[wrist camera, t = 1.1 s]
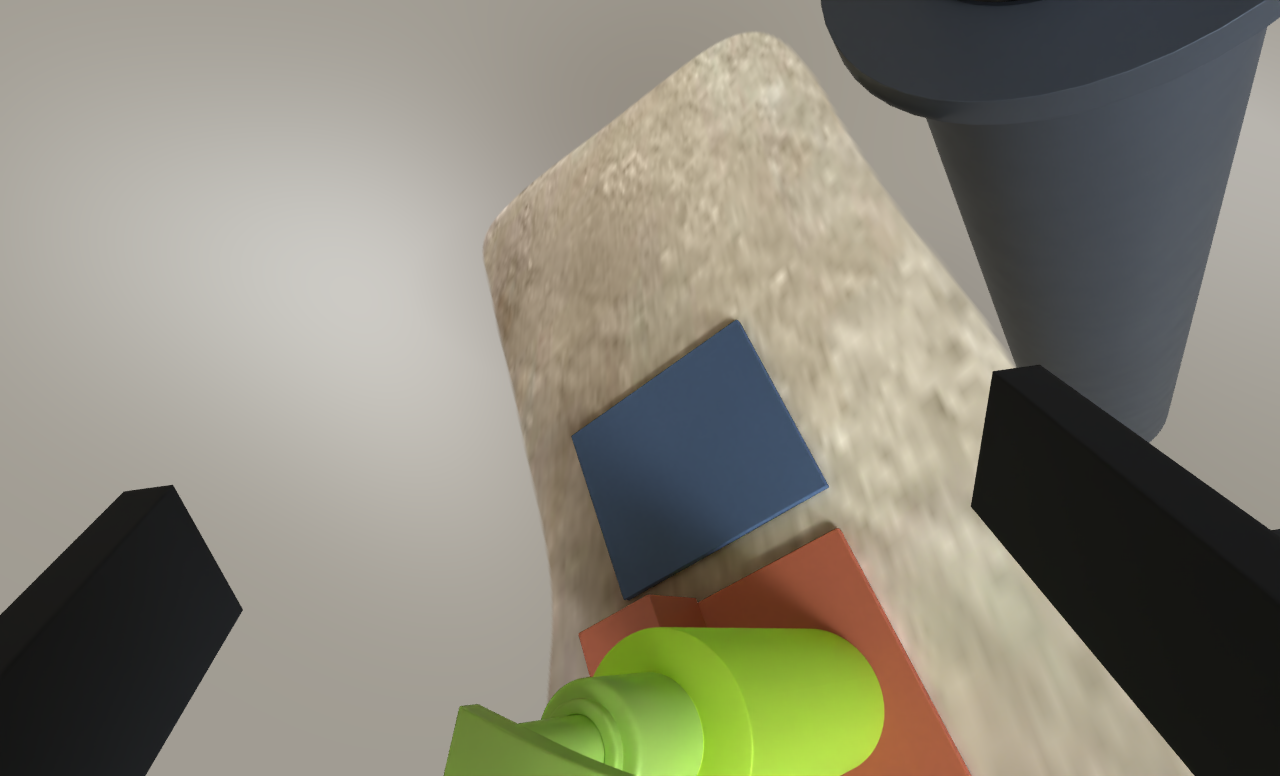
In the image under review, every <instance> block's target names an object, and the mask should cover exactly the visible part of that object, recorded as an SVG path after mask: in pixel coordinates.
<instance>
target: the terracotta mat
mask: <svg viewBox="0 0 1280 776" xmlns="http://www.w3.org/2000/svg"><path fill="white" fill-rule="evenodd" d="M698 606H699V608H700V611H701V613H702V616H703V619H704V621H705V624H706V627H707V628H789V629H819V630H824V631H828V632H831V633H834V634H836V635H838V636H840V637H842V638H844V639H845V640H847V641H848V642H850V643H851V644H852V645H853V646H854V647H856V648H857V649H858V650H859V651H860V652H861V653H862V655H863V656H864V657H865V658H866V660H867V661H868V662H869V664H870V665H871V667H872V669H873V670H874V672H875V674H876V677H877V679H878V681H879V684H880V687H881V691H882V695H883V701H884V724H883V729H882V733H881V736H880V739H879V741H878V743H877V745H876V747H875V749H874V750H873V752H872V753H871V755H870V756H869V757H868V758H867V759H866V760H865V761H864V762H863V763H862V764H860V765H859V766H857V767H856V768H854V769H852V770H850V771H848V772H846V773H844V774H843V775H841V776H971V774H970V772H969V770H968V769H967V767H966V765H965V763H964V761H963V759H962V757H961V755H960V754H959V752H958V750H957V748H956V746H955V744H954V742H953V740H952V738H951V737H950V735H949V733H948V731H947V729H946V727H945V725H944V723H943V722H942V720H941V718H940V716H939V714H938V712H937V710H936V708H935V707H934V705H933V703H932V701H931V699H930V697H929V695H928V693H927V691H926V690H925V688H924V686H923V684H922V682H921V680H920V678H919V676H918V675H917V673H916V671H915V669H914V667H913V665H912V663H911V661H910V659H909V658H908V656H907V654H906V652H905V650H904V648H903V646H902V644H901V643H900V641H899V639H898V637H897V635H896V633H895V631H894V629H893V628H892V626H891V624H890V622H889V620H888V618H887V616H886V614H885V612H884V611H883V609H882V607H881V605H880V603H879V601H878V599H877V597H876V596H875V594H874V592H873V590H872V588H871V586H870V584H869V582H868V580H867V579H866V577H865V575H864V573H863V571H862V569H861V567H860V565H859V564H858V562H857V560H856V558H855V556H854V554H853V552H852V550H851V549H850V547H849V545H848V543H847V541H846V539H845V537H844V535H843V533H842V532H841V530H840V529H838V528H836V529H834V530H832V531H830V532H828V533H826V534H824V535H823V536H821V537H819V538H817V539H815V540H813V541H811V542H810V543H808V544H806V545H804V546H802V547H800V548H798V549H797V550H795V551H793V552H791V553H789V554H787V555H785V556H784V557H782V558H780V559H778V560H776V561H774V562H772V563H770V564H769V565H767V566H765V567H763V568H761V569H759V570H757V571H756V572H754V573H752V574H750V575H748V576H746V577H744V578H743V579H741V580H739V581H737V582H735V583H733V584H731V585H730V586H728V587H726V588H724V589H722V590H720V591H718V592H717V593H715V594H713V595H711V596H709V597H707V598H705V599H703V600H702V601H700V602H698Z"/></svg>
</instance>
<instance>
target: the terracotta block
mask: <svg viewBox="0 0 1280 776" xmlns="http://www.w3.org/2000/svg"><path fill="white" fill-rule="evenodd" d="M654 627H698V628H707V627H706V624H705V621H704V619H703V616H702V613H701V611H700V608H699V606H698V603H697V600H696V598H688V597H676V596H663V595H651V594H648V595H646V596H644V597H643V598H641V599H639V600H637V601H635V602H634V603H632V604H630V605H628V606H626V607H625V608H623V609H621V610H619V611H618V612H616V613H614V614H612V615H610V616H609V617H607V618H605V619H603V620H602V621H600V622H598V623H596V624H594V625H593V626H591V627H589V628H587V629H586V630H584V631H582V632H580V633H579V638H580V642H581V645H582V649H583V653H584V656H585V660H586V664H587V667H588V671H589V674H590V677H593V676H594V674H595V672H596V670H597V668H598V666H599V664H600V663H601V661H602V660H603V658H604V657H605V656H606V655H607V653H608V652H609V651H610V650H611V649H612V648H613V647H614V646H615V645H616V644H617V643H618V642H620V641H621V640H622V639H624V638H625V637H627V636H629V635H631V634H633V633H635V632H637V631H640V630H643V629H648V628H654Z"/></svg>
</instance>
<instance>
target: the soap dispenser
mask: <svg viewBox="0 0 1280 776" xmlns="http://www.w3.org/2000/svg"><path fill="white" fill-rule="evenodd" d="M883 724H884V701H883V695H882V691H881V687H880V684H879V681H878V679H877V677H876V674H875V672H874V670H873V669H872V667H871V665H870V664H869V662H868V661H867V660H866V658H865V657H864V656H863V655H862V653H861V652H860V651H859V650H858V649H857V648H856V647H854V646H853V645H852V644H851V643H850V642H848V641H847V640H845V639H844V638H842V637H840V636H838V635H836V634H834V633H831V632H828V631H824V630H819V629H789V628H698V627H654V628H648V629H643V630H640V631H637V632H635V633H633V634H631V635H629V636H627V637H625V638H624V639H622V640H621V641H620V642H618V643H617V644H616V645H615V646H614V647H613V648H612V649H611V650H610V651H609V652H608V653H607V655H606V656H605V657H604V658H603V660H602V661H601V663H600V664H599V666H598V668H597V670H596V672H595V674H594V676H593V677H586V678H580V679H577V680H574V681H572V682H569V683H568V684H566V685H564V686H563V687H562V688H560V689H559V690H558V691H557V692H556V693H555V694H554V696H553V697H552V698H551V700H550V701H549V703H548V704H547V706H546V708H545V710H544V713H543V715H542V718H541V720H538V721H532V722H525V723H519V724H517V723H515V722H513V721H511V720H509V719H507V718H505V717H503V716H501V715H499V714H497V713H495V712H493V711H491V710H488V709H487V708H485V707H483V706H481V705H478V704H475V705H466V706H460V708H459V711H458V715H457V720H456V724H455V728H454V733H453V737H452V742H451V746H450V750H449V754H448V759H447V763H446V768H445V772H444V776H841V775H843V774H844V773H846V772H848V771H850V770H852V769H854V768H856V767H857V766H859V765H860V764H862V763H863V762H864V761H865V760H866V759H867V758H868V757H869V756H870V755H871V753H872V752H873V750H874V749H875V747H876V745H877V743H878V741H879V739H880V736H881V733H882V729H883Z"/></svg>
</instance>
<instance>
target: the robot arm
mask: <svg viewBox="0 0 1280 776" xmlns="http://www.w3.org/2000/svg"><path fill="white" fill-rule="evenodd" d="M958 1H961V2H966V3H970V4H977V5H987V6H1005V5H1017V4H1025V3H1032V2H1037V1H1042V0H958ZM971 507H972V508H973V510H974V511H975V512H976V513H977V514H978V516H979V517H980V518H981V519H982V520H983V522H984V523H985V524H986V525H987V526H988V528H989V529H990V530H991V531H992V532H993V534H994V535H995V536H996V537H997V538H998V540H999V541H1000V542H1001V543H1002V544H1003V546H1004V547H1005V548H1006V549H1007V550H1008V552H1009V553H1010V554H1011V555H1012V556H1013V558H1014V559H1015V560H1016V561H1017V562H1018V564H1019V565H1020V566H1021V567H1022V569H1023V570H1024V571H1025V572H1026V573H1027V575H1028V576H1029V577H1030V578H1031V579H1032V581H1033V582H1034V583H1035V584H1036V585H1037V587H1038V588H1039V589H1040V590H1041V591H1042V593H1043V594H1044V595H1045V596H1046V597H1047V599H1048V600H1049V601H1050V602H1051V603H1052V605H1053V606H1054V607H1055V608H1056V609H1057V611H1058V612H1059V613H1060V614H1061V615H1062V617H1063V618H1064V619H1065V620H1066V621H1067V623H1068V624H1069V625H1070V626H1071V627H1072V629H1073V630H1074V631H1075V632H1076V634H1077V635H1078V636H1079V637H1080V638H1081V640H1082V641H1083V642H1084V643H1085V644H1086V646H1087V647H1088V648H1089V649H1090V650H1091V652H1092V653H1093V654H1094V655H1095V656H1096V658H1097V659H1098V660H1099V661H1100V662H1101V664H1102V665H1103V666H1104V667H1105V668H1106V670H1107V671H1108V672H1109V673H1110V674H1111V676H1112V677H1113V678H1114V679H1115V680H1116V682H1117V683H1118V684H1119V685H1120V686H1121V688H1122V689H1123V690H1124V691H1125V692H1126V694H1127V695H1128V696H1129V697H1130V699H1131V700H1132V701H1133V702H1134V703H1135V705H1136V706H1137V707H1138V708H1139V709H1140V711H1141V712H1142V713H1143V714H1144V715H1145V717H1146V718H1147V719H1148V720H1149V721H1150V723H1151V724H1152V725H1153V726H1154V727H1155V729H1156V730H1157V731H1158V732H1159V733H1160V735H1161V736H1162V737H1163V738H1164V739H1165V741H1166V742H1167V743H1168V744H1169V745H1170V747H1171V748H1172V749H1173V750H1174V751H1175V753H1176V754H1177V755H1178V756H1179V757H1180V759H1181V760H1182V761H1183V762H1184V764H1185V765H1186V766H1187V767H1188V768H1189V770H1190V771H1191V772H1192V773H1193V774H1194V776H1280V529H1278V530H1270V529H1268V528H1267V527H1265V526H1264V525H1262V524H1261V523H1260V522H1258V521H1257V520H1256V519H1254V518H1253V517H1252V516H1250V515H1249V514H1247V513H1246V512H1245V511H1243V510H1242V509H1240V508H1239V507H1238V506H1236V505H1235V504H1233V503H1232V502H1231V501H1229V500H1228V499H1226V498H1225V497H1223V496H1222V495H1221V494H1219V493H1218V492H1217V491H1215V490H1214V489H1212V488H1211V487H1209V486H1208V485H1207V484H1205V483H1204V482H1203V481H1201V480H1200V479H1198V478H1197V477H1196V476H1194V475H1193V474H1191V473H1190V472H1189V471H1187V470H1186V469H1184V468H1183V467H1182V466H1180V465H1179V464H1177V463H1176V462H1175V461H1173V460H1172V459H1170V458H1169V457H1168V456H1166V455H1165V454H1163V453H1162V452H1161V451H1159V450H1158V449H1157V448H1155V447H1154V446H1152V445H1151V444H1150V443H1148V442H1147V441H1145V440H1144V439H1143V438H1141V437H1140V436H1138V435H1137V434H1136V433H1134V432H1133V431H1131V430H1130V429H1129V428H1127V427H1126V426H1124V425H1123V424H1122V423H1120V422H1119V421H1117V420H1116V419H1115V418H1113V417H1112V416H1110V415H1109V414H1108V413H1106V412H1105V411H1103V410H1102V409H1101V408H1099V407H1098V406H1096V405H1095V404H1094V403H1092V402H1091V401H1089V400H1088V399H1087V398H1085V397H1084V396H1082V395H1081V394H1080V393H1078V392H1077V391H1075V390H1074V389H1073V388H1071V387H1070V386H1068V385H1067V384H1066V383H1064V382H1063V381H1061V380H1060V379H1059V378H1057V377H1056V376H1055V375H1053V374H1052V373H1050V372H1049V371H1048V370H1046V369H1045V368H1043V367H1042V366H1041V365H1035V366H1028V367H1021V368H1013V369H1006V370H999V371H993V374H992V380H991V386H990V392H989V398H988V405H987V411H986V417H985V423H984V429H983V435H982V441H981V448H980V454H979V460H978V466H977V472H976V478H975V485H974V491H973V497H972V503H971ZM242 610H243V609H242V607H241V606H240V604H239V602H238V600H237V598H236V597H235V595H234V593H233V591H232V590H231V588H230V586H229V585H228V582H227V581H226V579H225V577H224V575H223V573H222V572H221V570H220V568H219V566H218V565H217V563H216V561H215V559H214V557H213V556H212V554H211V552H210V550H209V548H208V547H207V545H206V543H205V541H204V539H203V538H202V536H201V534H200V532H199V531H198V529H197V527H196V525H195V523H194V522H193V520H192V518H191V516H190V515H189V513H188V511H187V509H186V507H185V506H184V504H183V502H182V500H181V498H180V497H179V495H178V493H177V491H176V490H175V488H174V486H173V485H169V486H161V487H154V488H146V489H140V490H132V491H125V492H123V493H122V494H121V495H120V496H119V497H118V498H117V499H116V500H115V501H114V502H113V503H112V504H111V505H110V506H109V507H108V508H107V509H106V510H105V511H104V512H103V513H102V514H101V515H100V516H99V517H98V518H97V519H96V520H95V521H94V522H93V523H92V524H91V525H90V526H89V527H88V528H87V529H86V530H85V531H84V532H83V533H82V534H81V535H80V536H79V537H78V538H77V539H76V540H75V541H74V542H73V543H72V544H71V545H70V546H69V547H68V548H67V549H66V550H65V551H64V552H63V553H62V554H61V555H60V556H59V557H58V558H57V559H56V560H55V561H54V562H53V563H52V564H51V565H50V566H49V567H48V568H47V569H46V570H45V571H44V572H43V573H42V574H41V575H40V576H39V577H38V578H37V579H36V580H35V581H34V582H33V583H32V584H31V585H30V586H29V587H28V588H27V589H26V590H25V591H24V592H23V593H22V594H21V595H20V596H19V597H18V598H17V599H16V600H15V601H14V602H13V603H12V604H11V605H10V606H9V607H8V608H7V609H6V610H5V611H4V612H3V613H2V614H1V615H0V776H145V775H146V774H147V772H148V770H149V768H150V767H151V765H152V763H153V762H154V760H155V758H156V757H157V755H158V753H159V752H160V750H161V748H162V746H163V745H164V743H165V741H166V740H167V738H168V736H169V735H170V733H171V731H172V730H173V728H174V726H175V724H176V723H177V721H178V719H179V718H180V716H181V714H182V713H183V711H184V709H185V707H186V706H187V704H188V702H189V700H190V699H191V697H192V695H193V694H194V692H195V690H196V689H197V687H198V685H199V683H200V682H201V680H202V678H203V677H204V675H205V673H206V672H207V670H208V668H209V667H210V665H211V663H212V661H213V660H214V658H215V656H216V655H217V653H218V651H219V650H220V648H221V646H222V644H223V643H224V641H225V639H226V638H227V636H228V634H229V632H230V631H231V629H232V627H233V626H234V624H235V622H236V621H237V619H238V617H239V616H240V614H241V612H242Z"/></svg>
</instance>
